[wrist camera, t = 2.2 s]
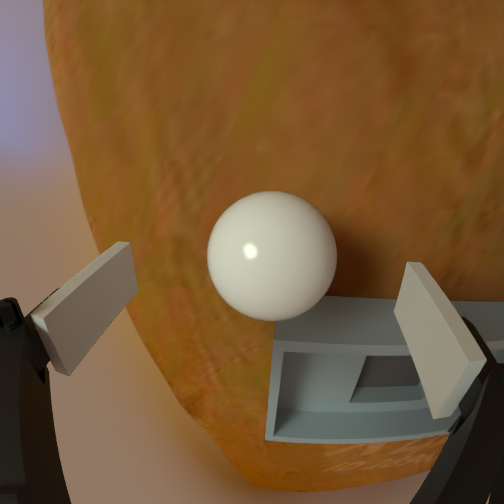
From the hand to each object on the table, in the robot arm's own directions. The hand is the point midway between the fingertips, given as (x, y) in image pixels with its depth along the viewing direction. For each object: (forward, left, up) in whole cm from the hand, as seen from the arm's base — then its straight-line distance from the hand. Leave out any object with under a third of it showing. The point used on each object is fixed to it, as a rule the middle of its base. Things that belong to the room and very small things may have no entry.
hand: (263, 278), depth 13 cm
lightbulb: (0, 0, -10) cm, 10 cm away
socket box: (+14, +13, -10) cm, 21 cm away
